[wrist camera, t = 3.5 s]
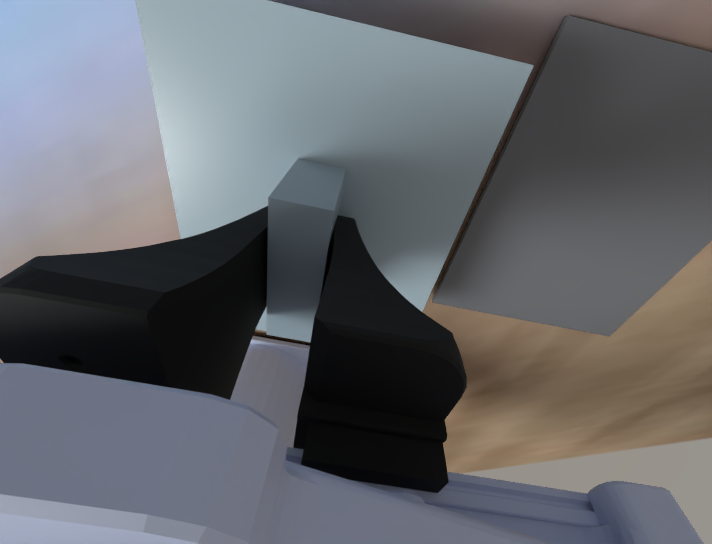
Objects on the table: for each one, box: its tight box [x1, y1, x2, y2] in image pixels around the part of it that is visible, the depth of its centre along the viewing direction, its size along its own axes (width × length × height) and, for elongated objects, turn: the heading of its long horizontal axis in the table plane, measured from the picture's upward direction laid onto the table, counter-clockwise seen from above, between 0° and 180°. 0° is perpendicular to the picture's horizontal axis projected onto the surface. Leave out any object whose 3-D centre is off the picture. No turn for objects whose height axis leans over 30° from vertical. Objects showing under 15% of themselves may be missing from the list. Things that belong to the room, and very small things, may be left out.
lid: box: [135, 0, 534, 342], centre depth 10 cm, size 12×10×4 cm
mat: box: [432, 16, 712, 336], centre depth 15 cm, size 14×12×1 cm
